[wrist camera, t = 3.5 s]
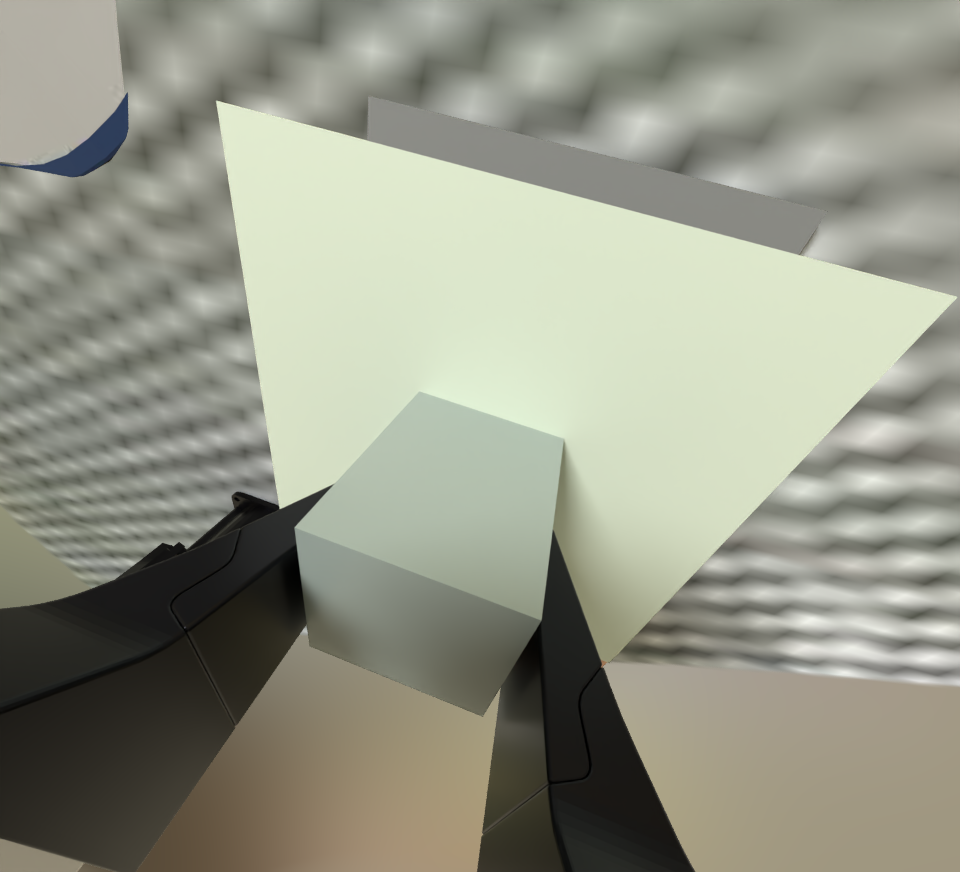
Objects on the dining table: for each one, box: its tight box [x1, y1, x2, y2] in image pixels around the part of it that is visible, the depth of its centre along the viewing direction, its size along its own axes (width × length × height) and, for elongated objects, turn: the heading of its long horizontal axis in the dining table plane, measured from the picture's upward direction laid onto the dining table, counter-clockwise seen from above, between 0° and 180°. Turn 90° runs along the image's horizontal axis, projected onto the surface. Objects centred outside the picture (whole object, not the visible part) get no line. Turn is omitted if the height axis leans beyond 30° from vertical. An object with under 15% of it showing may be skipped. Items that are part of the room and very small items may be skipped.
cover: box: [216, 101, 957, 717], centre depth 9 cm, size 14×14×6 cm
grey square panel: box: [367, 96, 828, 255], centre depth 18 cm, size 17×17×1 cm
